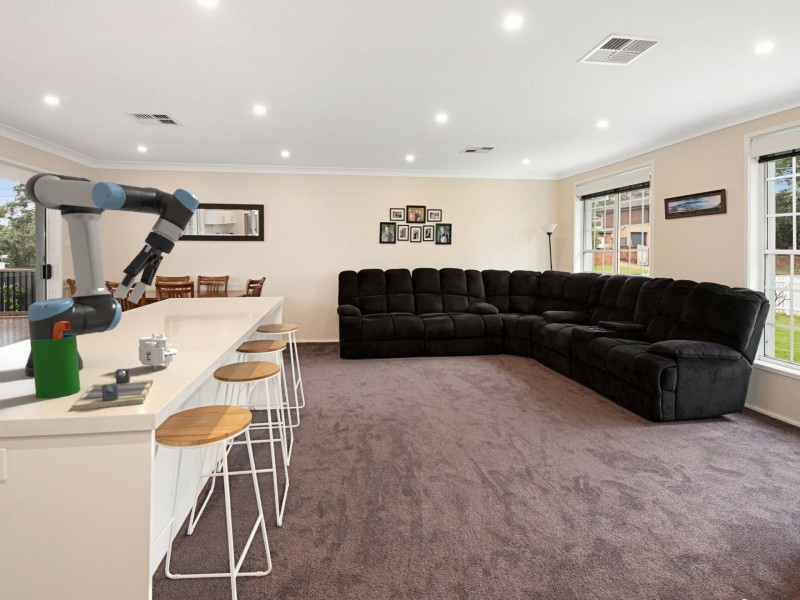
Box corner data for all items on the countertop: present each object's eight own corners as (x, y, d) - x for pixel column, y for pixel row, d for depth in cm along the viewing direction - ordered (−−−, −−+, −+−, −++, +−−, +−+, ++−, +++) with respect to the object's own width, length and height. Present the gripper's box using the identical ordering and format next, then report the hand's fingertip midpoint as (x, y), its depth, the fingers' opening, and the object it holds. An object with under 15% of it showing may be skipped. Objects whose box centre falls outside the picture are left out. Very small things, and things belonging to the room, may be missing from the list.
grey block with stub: (117, 382, 134) (116, 369, 133) (130, 381, 135) (129, 368, 134) (115, 385, 131) (114, 371, 130) (128, 383, 132) (127, 371, 132)
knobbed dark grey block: (105, 397, 119) (104, 383, 119) (119, 396, 120) (118, 382, 120) (102, 401, 116) (101, 386, 116) (117, 400, 117) (116, 385, 117)
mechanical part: (184, 363, 162) (183, 330, 161) (164, 372, 150) (162, 336, 149) (154, 362, 163) (153, 329, 162) (131, 371, 151) (130, 335, 150)
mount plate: (94, 387, 133) (94, 382, 132) (153, 382, 138) (153, 377, 138) (73, 410, 113) (73, 404, 113) (143, 403, 119) (142, 398, 119)
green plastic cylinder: (55, 387, 132) (50, 318, 130) (88, 387, 132) (84, 318, 130) (30, 398, 122) (24, 324, 120) (65, 398, 122) (61, 324, 120)
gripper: (167, 232, 127) (126, 300, 122) (182, 251, 151) (148, 309, 146) (140, 219, 125) (97, 287, 121) (160, 240, 149) (124, 298, 144)
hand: (125, 299), depth 133 cm, fingers open, 13 cm apart
